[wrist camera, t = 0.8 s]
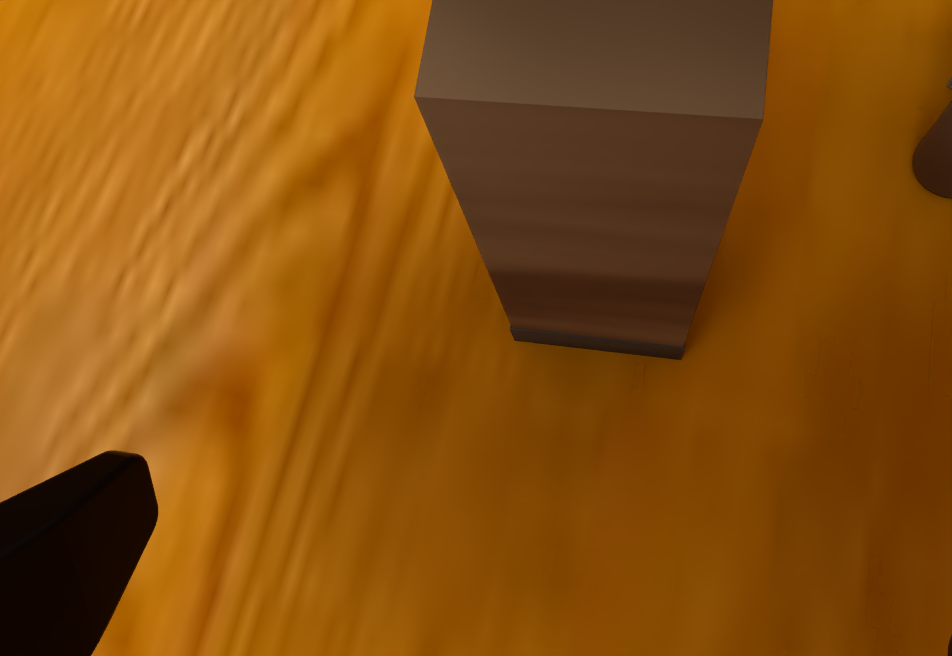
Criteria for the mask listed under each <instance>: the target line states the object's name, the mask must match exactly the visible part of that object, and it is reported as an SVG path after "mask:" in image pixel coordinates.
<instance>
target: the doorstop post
mask: <svg viewBox="0 0 952 656" xmlns="http://www.w3.org/2000/svg"><path fill="white" fill-rule="evenodd" d="M772 6H773V0H433V1H432V6H431V11H430V16H429V22H428V27H427V32H426V37H425V43H424V48H423V53H422V58H421V64H420V69H419V74H418V79H417V85H416V90H415V95H414V97H415V100H416V102H417V104H418V107H419V109H420V112H421V114H422V116H423V119H424V121H425V123H426V126H427V128H428V130H429V133H430V135H431V138H432V140H433V142H434V145H435V147H436V149H437V152H438V154H439V156H440V159H441V161H442V163H443V166H444V168H445V171H446V173H447V175H448V178H449V180H450V182H451V185H452V187H453V189H454V192H455V194H456V196H457V199H458V201H459V204H460V206H461V208H462V211H463V213H464V215H465V218H466V220H467V222H468V225H469V227H470V230H471V232H472V234H473V237H474V239H475V241H476V244H477V246H478V248H479V251H480V253H481V255H482V258H483V260H484V263H485V265H486V267H487V270H488V272H489V274H490V277H491V279H492V281H493V284H494V286H495V289H496V291H497V293H498V296H499V298H500V300H501V303H502V305H503V307H504V310H505V312H506V314H507V317H508V319H509V322H510V324H511V326H510V331H511V333H512V335H513V337H514V340H515V341H523V342H532V343H540V344H549V345H558V346H566V347H575V348H583V349H592V350H601V351H609V352H618V353H626V354H635V355H644V356H652V357H661V358H669V359H678V360H681V358H682V355H683V352H684V349H685V339H686V336H687V334H688V331H689V328H690V325H691V322H692V319H693V317H694V314H695V311H696V308H697V305H698V302H699V300H700V297H701V294H702V291H703V288H704V285H705V283H706V280H707V277H708V274H709V271H710V268H711V266H712V263H713V260H714V257H715V254H716V251H717V249H718V246H719V243H720V240H721V237H722V234H723V231H724V229H725V226H726V223H727V220H728V217H729V214H730V212H731V209H732V206H733V203H734V200H735V197H736V195H737V192H738V189H739V186H740V183H741V180H742V178H743V175H744V172H745V169H746V166H747V163H748V161H749V158H750V155H751V152H752V149H753V146H754V144H755V141H756V138H757V135H758V132H759V129H760V127H761V124H762V121H763V114H764V102H765V90H766V78H767V66H768V54H769V42H770V30H771V18H772Z"/></svg>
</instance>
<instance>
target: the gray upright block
mask: <svg viewBox="0 0 952 656" xmlns="http://www.w3.org/2000/svg"><path fill="white" fill-rule="evenodd" d="M947 87H948V88H951V89H952V77H951V79H950V81H949V83H948V85H947Z"/></svg>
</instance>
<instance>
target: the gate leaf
mask: <svg viewBox="0 0 952 656" xmlns="http://www.w3.org/2000/svg"><path fill="white" fill-rule="evenodd" d="M913 168H914V172H915V174H916V176H917V178H918V180H919V181H920V182H921V184H922V185H923V186H924V187H925V188H927V189H928V190H929V191H931V192H933V193H935V194H937V195H939V196H942V197H946V198H952V101H951V102H950V104H949V105H948V106H947V108H946V109H945V110H944V112H943V113H942V114H941V116H940V117H939V118H938V120H937V121H936V122H935V124H934V125H933V126H932V128H931V129H930V130H929V132H928V133H927V134H926V136H925V137H924V138H923V140H922V141H921V142H920V144H919V145H918V146H917V148H916V150H915V153H914V156H913Z"/></svg>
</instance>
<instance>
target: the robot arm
mask: <svg viewBox="0 0 952 656" xmlns="http://www.w3.org/2000/svg"><path fill="white" fill-rule="evenodd" d="M157 518H158V504H157V500H156V496H155V492H154V488H153V484H152V479H151V475H150V471H149V467H148V464H147V461H146V460H145V459H144V458H143V456H141V455H139V454H135V453H128V452H122V451H106V452H104V453H101V454H99V455H97V456H95V457H93V458H91V459H89V460H87V461H85V462H83V463H81V464H79V465H77V466H75V467H73V468H71V469H69V470H66V471H64V472H62V473H60V474H58V475H56V476H54V477H52V478H50V479H48V480H46V481H44V482H42V483H40V484H38V485H36V486H34V487H32V488H29V489H27V490H25V491H23V492H21V493H19V494H17V495H15V496H13V497H11V498H9V499H7V500H5V501H3V502H1V503H0V656H91V655H92V653H93V651H94V650H95V648H96V646H97V644H98V643H99V641H100V639H101V637H102V635H103V633H104V631H105V629H106V628H107V626H108V624H109V622H110V620H111V618H112V616H113V613H114V611H115V609H116V607H117V605H118V603H119V601H120V599H121V597H122V595H123V593H124V591H125V589H126V586H127V584H128V582H129V580H130V578H131V576H132V574H133V572H134V570H135V568H136V566H137V564H138V562H139V560H140V557H141V555H142V553H143V551H144V549H145V547H146V545H147V543H148V541H149V539H150V537H151V535H152V533H153V530H154V528H155V526H156V522H157ZM948 656H952V635H951V638H950V641H949V646H948Z"/></svg>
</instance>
